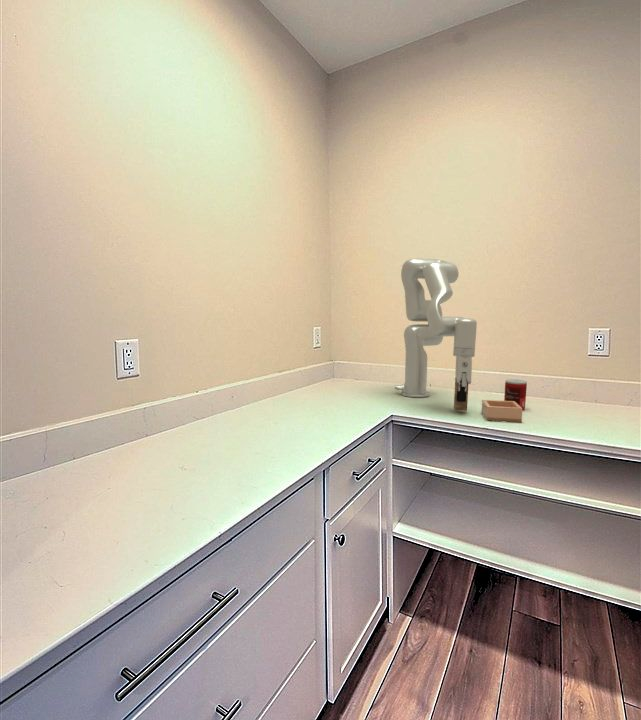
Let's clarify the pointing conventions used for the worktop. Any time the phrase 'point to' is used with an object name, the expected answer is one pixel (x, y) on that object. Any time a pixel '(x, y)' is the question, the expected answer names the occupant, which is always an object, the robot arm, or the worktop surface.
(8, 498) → the worktop surface
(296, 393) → the worktop surface
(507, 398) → the canned food
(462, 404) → the tan brown block
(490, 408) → the wooden tray
